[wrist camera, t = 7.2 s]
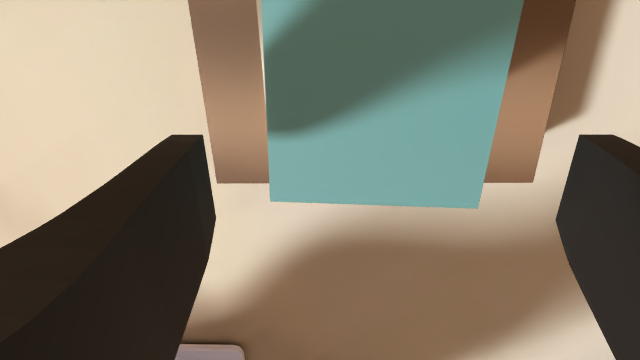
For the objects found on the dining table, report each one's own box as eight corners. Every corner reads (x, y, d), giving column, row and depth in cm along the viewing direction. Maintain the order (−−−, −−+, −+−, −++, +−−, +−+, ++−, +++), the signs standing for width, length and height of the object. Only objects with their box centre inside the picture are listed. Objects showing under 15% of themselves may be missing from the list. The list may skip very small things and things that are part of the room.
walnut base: (511, 138, 22) (534, 185, 19) (231, 140, 22) (215, 186, 19) (578, -205, 15) (627, -205, 13) (186, -193, 16) (155, -191, 13)
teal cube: (446, 111, 17) (477, 208, 13) (288, 106, 18) (270, 201, 13) (474, -59, 15) (524, -2, 10) (284, -63, 15) (260, -8, 11)
